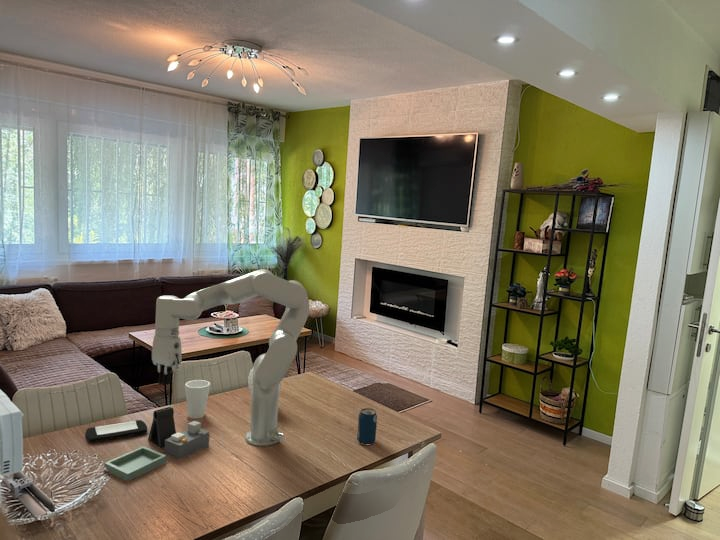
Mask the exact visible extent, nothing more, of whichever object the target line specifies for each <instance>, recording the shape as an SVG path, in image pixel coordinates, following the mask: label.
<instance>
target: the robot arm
mask: <svg viewBox="0 0 720 540" xmlns="http://www.w3.org/2000/svg"><path fill="white" fill-rule="evenodd" d="M258 296H260V297H261V298H264V299H266V300H268V301H271V302H274V303H276V304H280V305H282V306H284V307H285V311H284V312H283V315H282V316H281V318H280V321H279V322H278V324H277V326H276V327H275V329H274V331H273V332H272V334H271V335H270V337H269V340H268V346H269V347H268V349H267V352H265V353H262V354H260V355H258V357H257V358H256V359H255V361H254V362H253V367H252V368H253V384H252V386H253V391H252V396H251V409H250V410H251V411H250V412H251V413H250V425H249V426H250V429H249V431H247V433H246V434H245V441H246V442H247V443H248V444H251V445H253V446H256V447H257V446H258V447H259V446H260V447H266V446H271V445H274V444H277V443H278V442H280V443H281V442H283V441H284V437H285V434H284V433H282V432H280V427H278V412H279V411H278V410H279V398H280V396H279V395H280V392H279V383H280V382H281V383H282V381H283V379H284V377H285V375H286V374H287V372H288V370H289V369H290V367H291V365H292V363H294V359H295V357H296V355H297V353H298V342H297V341H298V338H299V336H300V334H301V333H302V330H303V328H304V326H305V325H306V322H307V320H308V317H309V313H310V300H309V296H308V293H307V290H306V288H305V287H304V285H303V284H302V283H301V282H299V281H297V280H296V279H295V280H293V279H291V280H287V279H284V278H282V277H279V276H277V275H274V274H273V272H272V271H270V270H269V269H265V268H261V269H257V270H254V271H252V272H248V273H246V274H244V275H240V276H239V277H235V278H232V279H230V280H226V281H224V282H221V283H218V284H214V285H211V286H209V287H206V288H203V289H200V290H197V291H194V292H192V293H190V294H187V295H186V296H184V298H179V297H178V296H175V295H161V296H158V297H157V298H156V302H155V304H156V305H155V323H154V324H155V325H154V327H155V328H154V336H153V341H152V345H151V346H152V349H151V361H152V364H153V365H154V366H156V368H157V372H158V385H162V386H167V385H171V382H172V374H173V372H174V371H178V370H179V367H180V366H179V365H181V364H182V355H183V354H182V342H181V337H180V336H179V335H180V331H179V330H180V319H181V320H187V321H190V320H191V321H193V320H196V319H198V318H199V317H200V316H201V315H202V312H204V311H208V310H209V309H211V308H215V307H218V306H223V305H237V304H239V303H242V302H244V301H247V300H250V299H252V298H253V299H254V298H256V297H258Z"/></svg>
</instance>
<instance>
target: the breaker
mask: <svg viewBox="0 0 720 540" xmlns="http://www.w3.org/2000/svg"><path fill="white" fill-rule="evenodd" d="M201 424H202V423H201V422H199V421H197V420H193V421H191V422H189V423H187V430H188V433H190V434H193V435H194V434H196V433H198V431H200V429H201V426H202V425H201Z"/></svg>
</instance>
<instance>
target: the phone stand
mask: <svg viewBox="0 0 720 540" xmlns="http://www.w3.org/2000/svg"><path fill="white" fill-rule="evenodd" d="M174 411H175V410H174V407H171V406H168V407H164V408H161V409H157V410H154V411H153V413H152V414H153V417H152V418H153V419H152V423H151V425H150V430H149V434H148V439H147V440H148V441H149V442H150V443H152V444H153V445H154V446H156V447H158V449H160V448H161V449H165V439H168V438H170V437H171V435H173V434H175V433H177V431H176V425H175V418H174V413H175V412H174Z"/></svg>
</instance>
